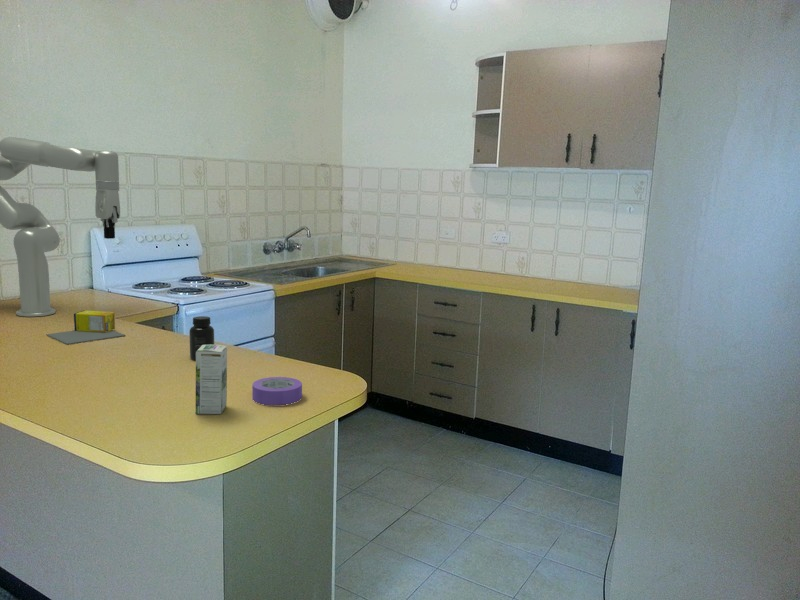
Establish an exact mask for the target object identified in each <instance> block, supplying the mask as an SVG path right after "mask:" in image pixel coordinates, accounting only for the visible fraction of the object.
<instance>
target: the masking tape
mask: <svg viewBox="0 0 800 600" xmlns="http://www.w3.org/2000/svg"><path fill="white" fill-rule="evenodd" d="M251 386H252V387H251V388H252V391H251V392H252V393H251V395H252V396H251V397H252V401H253V400H254V401H255V402H254V401H253V402H254V403H256V402H257V403H256V404H258V403H260V404H259V405H261V404H264V405H263V406H266V405H285V406H287V405H286V404H291V403H294V402H297V401H299V400H300V399H301V398H302V397H303V383H302V381H300V379H297V378H292V377H287V376H273V377H271V376H270V377H263V378H260V379H257V380H255V381H253V382H252V385H251ZM302 399H303V398H302ZM302 399H301V400H302ZM301 400H300V401H301ZM300 401H299V402H300ZM297 403H298V402H297ZM294 404H295V403H294ZM291 405H292V404H291Z"/></svg>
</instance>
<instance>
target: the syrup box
mask: <svg viewBox="0 0 800 600" xmlns="http://www.w3.org/2000/svg"><path fill="white" fill-rule="evenodd" d="M227 372H228V346H227V345H223V344H214V345H213V344H209V345H202V346H201V347H200V348H199V349H198V350H197V351H196V360H195V414H196V415H222V414H223V412H224V410H225V409H226V407H227V394H228V393H227V392H228V391H227V390H228V389H227V388H228V387H227V385H228V383H227V382H228V378H227V377H228V373H227Z"/></svg>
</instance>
